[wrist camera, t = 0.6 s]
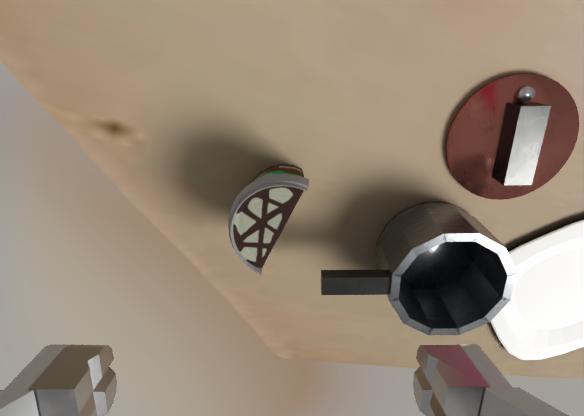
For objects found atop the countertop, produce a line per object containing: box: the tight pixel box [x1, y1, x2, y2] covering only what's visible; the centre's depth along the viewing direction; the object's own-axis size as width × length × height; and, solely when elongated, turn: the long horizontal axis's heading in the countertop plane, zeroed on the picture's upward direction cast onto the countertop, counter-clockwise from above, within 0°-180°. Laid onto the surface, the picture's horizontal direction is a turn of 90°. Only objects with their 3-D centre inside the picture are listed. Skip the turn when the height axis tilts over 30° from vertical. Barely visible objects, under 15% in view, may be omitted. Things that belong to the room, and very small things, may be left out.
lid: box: [446, 74, 579, 199], centre depth 44 cm, size 15×15×4 cm
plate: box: [490, 219, 584, 360], centre depth 53 cm, size 22×22×2 cm
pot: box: [321, 202, 517, 335], centre depth 47 cm, size 14×22×9 cm, turn 91°
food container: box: [229, 165, 309, 275], centre depth 44 cm, size 12×6×10 cm, turn 154°
